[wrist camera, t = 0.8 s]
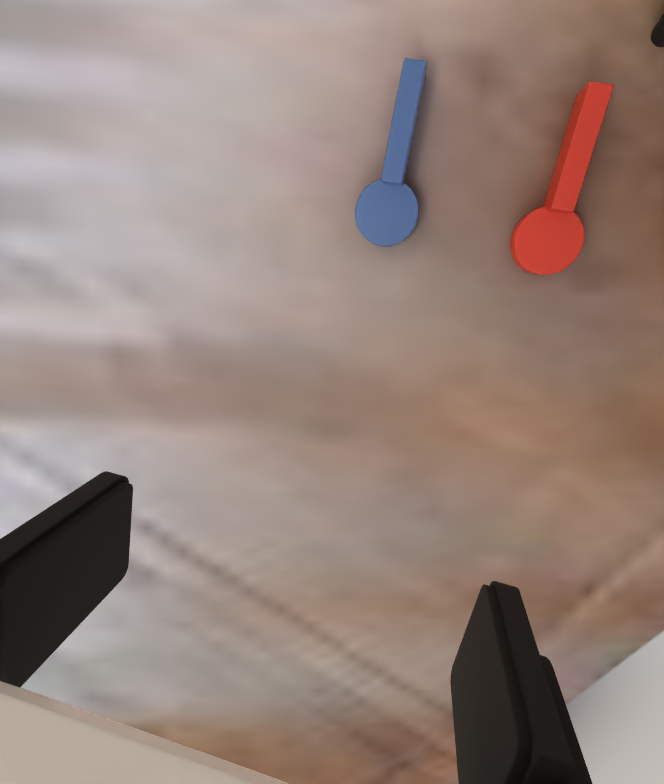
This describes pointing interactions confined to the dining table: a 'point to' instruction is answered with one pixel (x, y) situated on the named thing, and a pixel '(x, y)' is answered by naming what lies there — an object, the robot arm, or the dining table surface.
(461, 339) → the dining table surface
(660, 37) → the nameplate
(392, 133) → the blue spoon
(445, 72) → the dining table surface
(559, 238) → the red spoon
